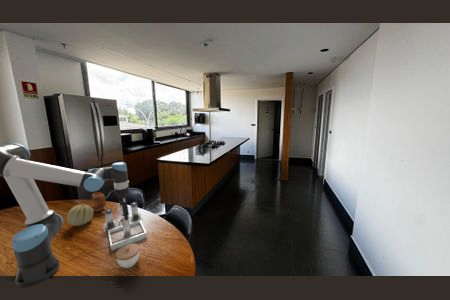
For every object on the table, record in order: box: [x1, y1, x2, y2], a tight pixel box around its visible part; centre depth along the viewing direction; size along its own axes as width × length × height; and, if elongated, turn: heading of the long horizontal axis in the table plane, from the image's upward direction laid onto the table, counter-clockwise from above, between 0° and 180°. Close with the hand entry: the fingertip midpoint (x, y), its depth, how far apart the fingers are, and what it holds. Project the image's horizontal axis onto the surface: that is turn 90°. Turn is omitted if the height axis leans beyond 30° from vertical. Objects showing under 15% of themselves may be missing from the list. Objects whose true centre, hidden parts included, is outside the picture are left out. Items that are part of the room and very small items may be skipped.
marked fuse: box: [121, 217, 132, 237], centre depth 116 cm, size 4×4×12 cm
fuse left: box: [104, 208, 114, 228], centre depth 124 cm, size 4×4×12 cm
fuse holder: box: [102, 212, 144, 233], centre depth 130 cm, size 10×24×4 cm, turn 127°
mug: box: [90, 191, 107, 212], centre depth 148 cm, size 15×8×15 cm, turn 62°
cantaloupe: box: [66, 203, 94, 227], centre depth 129 cm, size 15×15×15 cm
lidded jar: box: [115, 243, 140, 269], centre depth 95 cm, size 11×11×9 cm
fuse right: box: [130, 201, 139, 220], centre depth 134 cm, size 4×4×12 cm
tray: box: [107, 220, 148, 252], centre depth 117 cm, size 18×20×4 cm
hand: (125, 219), depth 115 cm, fingers open, 13 cm apart
